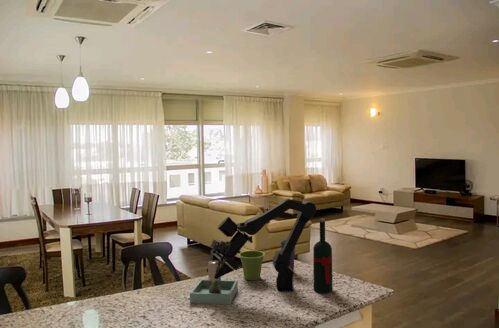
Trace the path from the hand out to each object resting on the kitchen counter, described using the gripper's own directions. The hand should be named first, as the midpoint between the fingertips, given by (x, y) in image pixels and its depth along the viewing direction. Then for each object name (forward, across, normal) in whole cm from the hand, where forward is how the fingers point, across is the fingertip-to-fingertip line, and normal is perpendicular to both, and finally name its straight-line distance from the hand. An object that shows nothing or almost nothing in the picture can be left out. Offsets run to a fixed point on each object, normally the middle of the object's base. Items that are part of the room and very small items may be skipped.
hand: (211, 274), depth 163 cm
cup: (-24, -12, +37) cm, 46 cm away
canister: (+5, 0, +7) cm, 8 cm away
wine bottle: (-24, +16, +37) cm, 47 cm away
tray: (+5, 0, +7) cm, 9 cm away
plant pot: (-11, -12, +24) cm, 29 cm away
